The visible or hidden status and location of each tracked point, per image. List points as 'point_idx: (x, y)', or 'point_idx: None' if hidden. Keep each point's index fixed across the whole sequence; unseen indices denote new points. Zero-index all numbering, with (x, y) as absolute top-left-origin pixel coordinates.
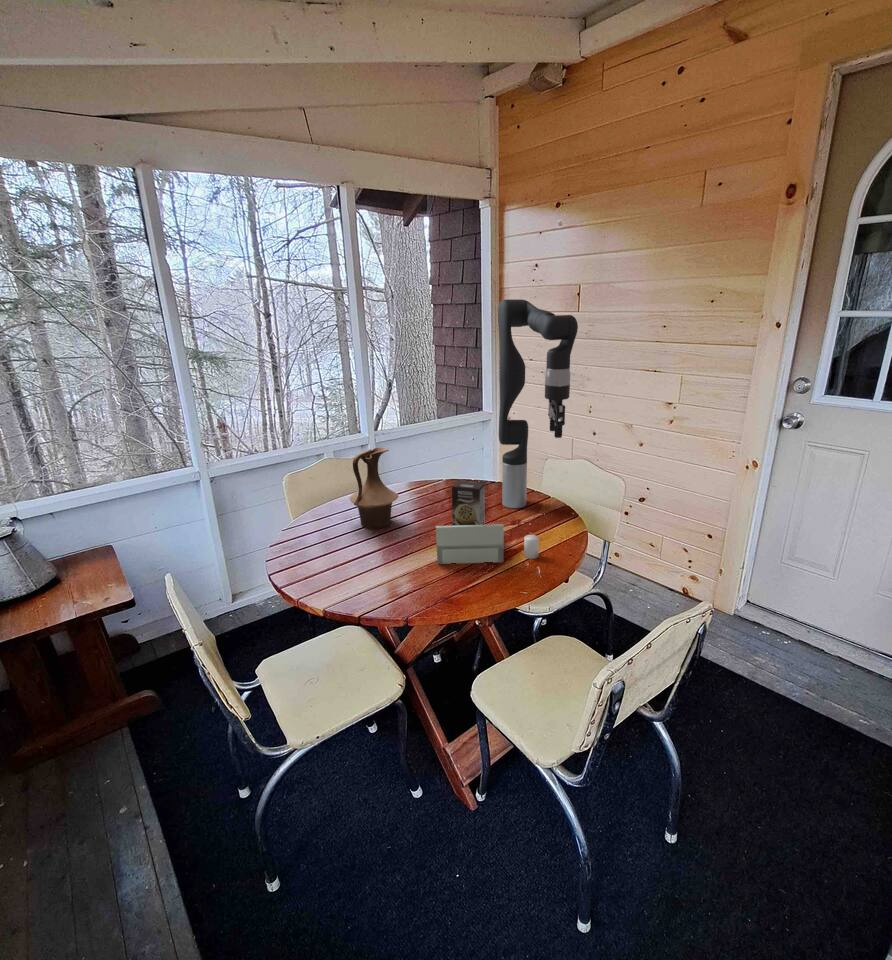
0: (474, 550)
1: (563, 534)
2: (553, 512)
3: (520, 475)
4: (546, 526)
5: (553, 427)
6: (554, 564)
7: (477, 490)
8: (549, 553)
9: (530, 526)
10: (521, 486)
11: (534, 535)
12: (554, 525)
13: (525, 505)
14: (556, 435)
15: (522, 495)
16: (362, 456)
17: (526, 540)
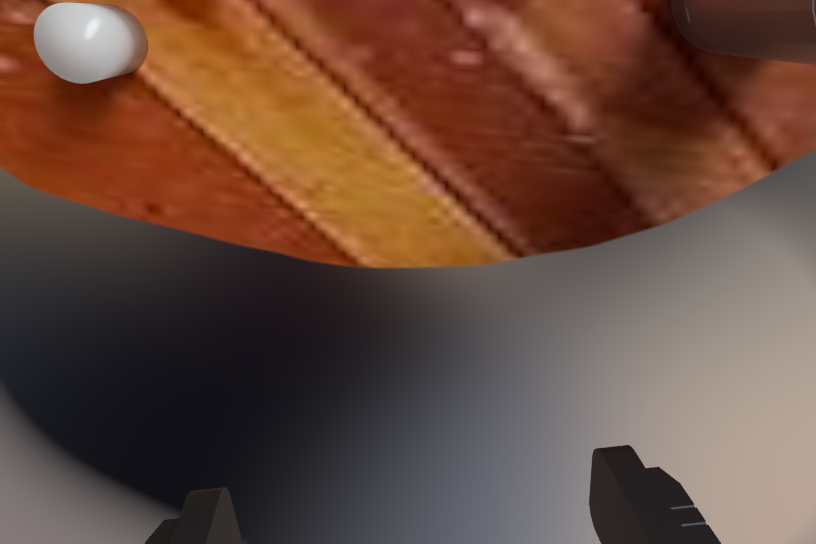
0: None
1: (350, 202)
2: (594, 183)
3: (798, 15)
4: (435, 136)
5: (614, 523)
6: (50, 137)
7: None
8: (151, 125)
9: (435, 58)
10: (747, 23)
11: (107, 61)
12: (446, 174)
13: (698, 48)
14: (165, 530)
15: (715, 30)
16: None
17: (44, 13)
